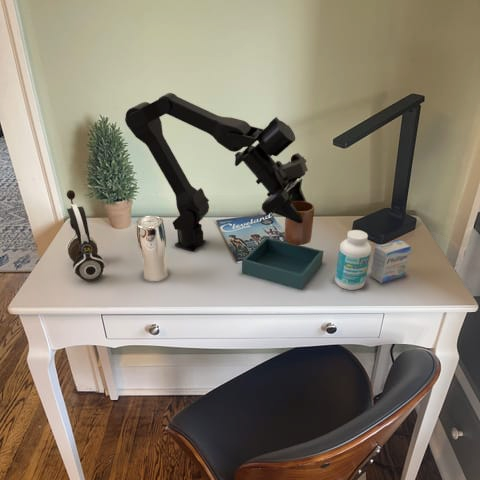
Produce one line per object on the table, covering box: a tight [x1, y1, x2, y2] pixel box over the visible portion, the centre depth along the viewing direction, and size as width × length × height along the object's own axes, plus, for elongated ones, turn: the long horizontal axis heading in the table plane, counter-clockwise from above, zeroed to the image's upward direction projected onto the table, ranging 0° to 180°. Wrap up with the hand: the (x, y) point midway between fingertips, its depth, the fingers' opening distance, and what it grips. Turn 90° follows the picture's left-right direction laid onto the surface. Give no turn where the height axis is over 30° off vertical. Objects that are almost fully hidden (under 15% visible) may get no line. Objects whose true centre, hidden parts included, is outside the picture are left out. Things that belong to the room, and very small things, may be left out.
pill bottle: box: [334, 229, 372, 291], centre depth 120 cm, size 8×7×14 cm
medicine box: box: [369, 239, 412, 284], centre depth 124 cm, size 8×4×9 cm, turn 117°
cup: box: [284, 200, 315, 246], centre depth 125 cm, size 7×7×9 cm
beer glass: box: [134, 215, 169, 282], centre depth 122 cm, size 7×7×15 cm
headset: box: [66, 189, 106, 282], centre depth 123 cm, size 17×8×20 cm, turn 24°
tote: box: [241, 237, 324, 291], centre depth 128 cm, size 17×14×4 cm
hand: (304, 216), depth 124 cm, fingers closed on cup, 7 cm apart
